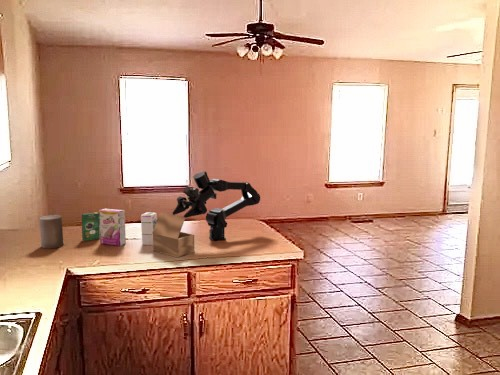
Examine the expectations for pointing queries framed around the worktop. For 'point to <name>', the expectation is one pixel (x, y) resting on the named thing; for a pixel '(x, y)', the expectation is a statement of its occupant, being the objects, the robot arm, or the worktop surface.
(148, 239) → the syrup box
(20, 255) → the worktop surface
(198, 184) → the robot arm
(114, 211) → the candy bar box
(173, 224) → the flap
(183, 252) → the light wood open box
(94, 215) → the coffee box
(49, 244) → the pillar candle
